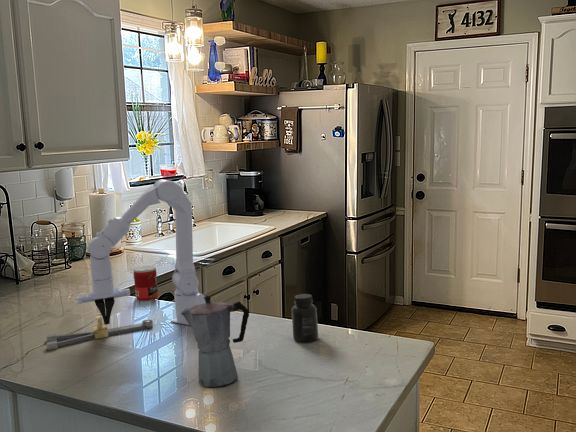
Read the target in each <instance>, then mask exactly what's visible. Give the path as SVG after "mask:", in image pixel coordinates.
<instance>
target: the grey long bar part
mask: <svg viewBox="0 0 576 432" xmlns="http://www.w3.org/2000/svg"><path fill="white" fill-rule="evenodd" d="M152 327H153V328H154V324H153V319H148V318H147V319H144V320H142V322H141V323H135V324H129V325H125V326H119V327H112V328H107V329H108V337H110V336H115V335H121V334H127V333H132V332H137V331H144V330H150V329H153V328H152ZM93 339H95V334H94V332H93V331H84V332H77V333H76V332H75V333H68V334H67V333H66V334H60V335H59V334H58V335H57V333H51V334H46V347H47V351H53V350H58V348H62V347H66V346H70V345H74V344H78V343H82V342H86V341H90V340H93Z"/></svg>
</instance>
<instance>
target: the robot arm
mask: <svg viewBox="0 0 576 432" xmlns="http://www.w3.org/2000/svg"><path fill="white" fill-rule="evenodd" d="M161 201H162V202H164V203H166V204H167V205H168V206H170V207H171V208H172V209H173V210H174V213H175V214H174V216H175V217H174V218H175V222H174V223H175V250H176V251H175V254H176V255H175V257H176V258H175V259H176V261H175V265H174V272H173V274H172V276H171V281H172V284H173V285H174V286H175V290H174V292H173V293H174V294H173V295H174V304H175V316H176V317H175V318H173V319H171V320H170V323H176V324H182V325H187V326H190V325H189V323H188V322H187V320H186V319H185V317H184V316H183V315H182V314H181V312H182V311H184V310H185V309H187V308H191V307H194V306H196V305H199V304H203V303H206V302H205V299H204V297H205V296H206V295H204V294H202V293H200V292H199V289H198V288H199V286H200V281H199V278H198V277H197V274H196V267H195V264H194V253H193V250H194V249H193V248H194V247H193V243H194V242H193V205H192V202H191V201H190V199H189V198H188V196H187V195H186V193H185V192H184V190H183V188H182V186H180V185H179V184H177V183H176V182H174V181H173V180H167V179H164V178H163V179H158V180H156V181H155V182H154V184H153V185H150V186H149V187H148V188H147V189H146V190H144V191H143V193H142V194H141V195H140V196H139V197H138V198H137V199H136V201H135V202H133V204H132V205H131V206H130V207H129V208H128V209H127V210H126V211H125V212H124V213H123V214H122V216H116V217H113V218H109V219H108V220H107V224H106V225H105V226H104V227H103V229H101V231H97V232H96V234H95V237H93V238H91V239H90V240H89V242H88V245H87V247H86V248H87V251H88V253H89V254H90V255H89V256H90V257H89V262H90V264H89V265H90V266H89V267H90V275H91V284H92V292H90V293H87V294H82V295H77V298H76V300H77V304H78V305H82V304H85V303H91V302H94V303H95V306H96V307H97V309H98V310H99V313H100V314H101V315H100V316H101V318H102V321H103V324H105V325H106V326H107V325H110V322H111V321H110V320H111V314H112V311H113V308H114V305H115V301H116V300H115V299H117V298H123V297H124V298H125V297H131V291H130V288H122V289H114V279H113V273H112V272H113V270H112V262H111V260H110V258H111V257H110V254H111V251H112V248H113V247H115V246H116V245H117V244H118V243H119V242H120V241H121V240H122V239H124V237H125V236H126V235H127V234H128V233H129V232H130V225H131V224H132V223H134V221H135V220H136V219H137V218H138V217H139V216H140V215H141V214H142V213H144V211H146V210H147V208H148V207H150V206H153V205H158V204H161Z"/></svg>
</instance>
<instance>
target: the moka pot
mask: <svg viewBox="0 0 576 432" xmlns="http://www.w3.org/2000/svg"><path fill="white" fill-rule="evenodd" d="M204 296H205V297H204V299H205V302H206V303H203V304H199V305H196V306H194V307H191V308H187V309H185V310H184V311H182V312H181V314H182V315H183V316H184V317H185V319H186V320H187V322H188V323H189V325H188V326H189V327H190V328H191V330H192V333H193V337H194V340H195V342H196V344H197V349H198V355H197V356H198V382H199V384H200V385H201V386H202V387H206V388H216V387H217V388H218V387H223V386H227V385H229V384H231V383H233V382H234V381H235V380H237V378H238V377H239V375H238V371H237V367H236V364H235V363H236V362H235V361H234V356H233V353H232V349H231V347H230V344H231V339H230V338H231V313H234V312H235V313H236V312H237V311H240V310H241V311H242V312H243V315H242V320H241V324H240V332H239V334H238V337H237V338H233V339H232V342H233V343H242V342H243V341H244V339H245V334H246V329H247V324H248V320H249V317H250V310H249V309H248V308H247V307H246V306H245V305H244V304H243V303H242V302H241V301H236V302H230V303H226V302H224V301H222V302H221V301H220V302H216V301H211V295H204Z"/></svg>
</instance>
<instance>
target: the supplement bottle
mask: <svg viewBox="0 0 576 432" xmlns="http://www.w3.org/2000/svg"><path fill="white" fill-rule="evenodd" d="M293 300H294V302H293V303H294V305H293V306H292V307H291V322H292V337H293V340H294V341H295V342H297V343H300V344H301V343H302V344H305V343H307V344H308V343H312V342H315V341H317V340H318V338H319V329H318V328H319V326H318V310H317V307H316V305H315V304H313V302H314V301H313V295H312V294H308V293H300V294H296V295H294V299H293Z"/></svg>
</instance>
